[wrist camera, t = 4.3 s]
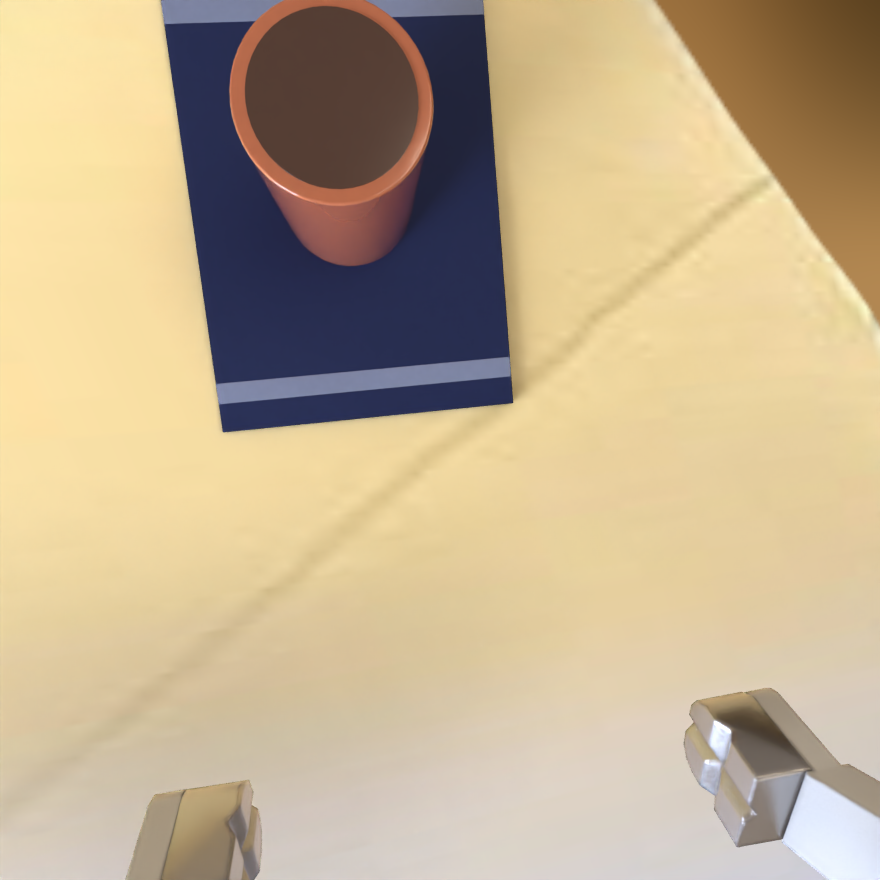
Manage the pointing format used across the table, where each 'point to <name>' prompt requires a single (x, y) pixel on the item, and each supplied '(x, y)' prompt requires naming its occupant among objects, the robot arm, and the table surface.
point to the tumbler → (334, 122)
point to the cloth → (337, 286)
